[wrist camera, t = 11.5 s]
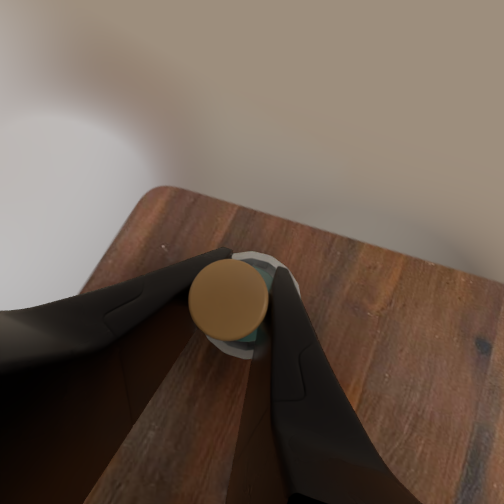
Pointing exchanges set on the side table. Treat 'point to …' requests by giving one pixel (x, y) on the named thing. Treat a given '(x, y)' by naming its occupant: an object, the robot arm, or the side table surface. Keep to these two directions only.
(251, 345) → the white cylindrical cup
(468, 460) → the side table surface
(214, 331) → the brush
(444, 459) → the side table surface
